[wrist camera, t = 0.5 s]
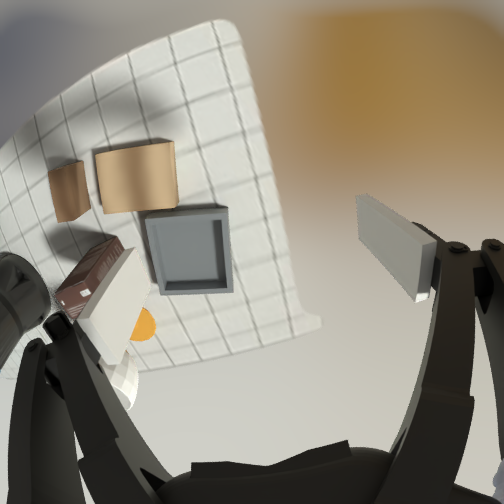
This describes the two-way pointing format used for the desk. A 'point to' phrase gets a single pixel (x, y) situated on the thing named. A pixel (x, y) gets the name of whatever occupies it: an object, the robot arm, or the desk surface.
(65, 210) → the brown rectangular block
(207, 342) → the desk surface
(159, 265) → the tray
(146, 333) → the cup
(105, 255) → the box
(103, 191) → the light brown wooden block
